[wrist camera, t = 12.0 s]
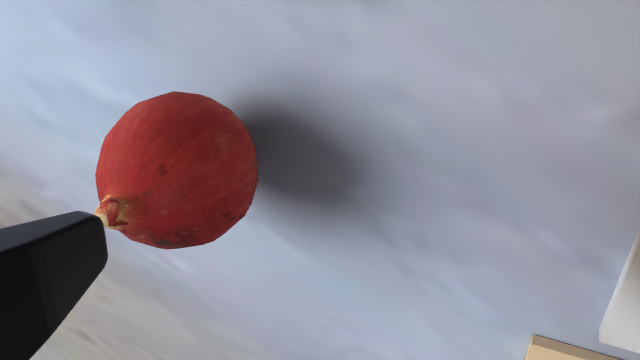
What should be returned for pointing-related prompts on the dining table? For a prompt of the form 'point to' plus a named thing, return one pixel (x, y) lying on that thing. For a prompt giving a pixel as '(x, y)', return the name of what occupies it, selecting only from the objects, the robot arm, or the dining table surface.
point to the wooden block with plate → (625, 306)
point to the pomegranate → (176, 171)
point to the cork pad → (559, 351)
